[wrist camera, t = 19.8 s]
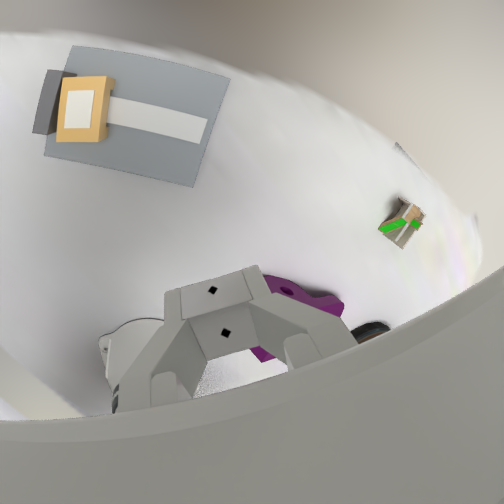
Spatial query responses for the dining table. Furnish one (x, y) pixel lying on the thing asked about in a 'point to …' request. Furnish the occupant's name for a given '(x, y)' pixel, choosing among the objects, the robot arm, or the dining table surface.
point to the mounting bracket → (298, 294)
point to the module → (84, 109)
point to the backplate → (139, 114)
